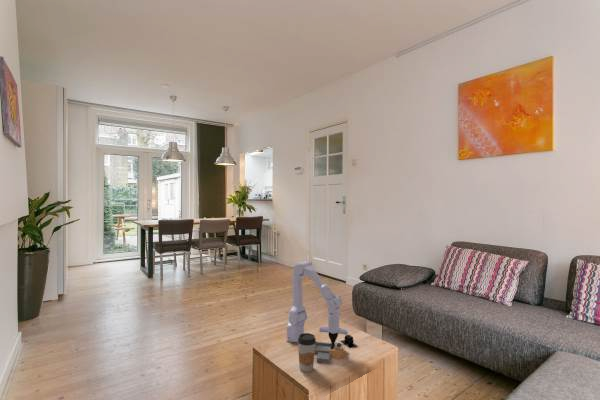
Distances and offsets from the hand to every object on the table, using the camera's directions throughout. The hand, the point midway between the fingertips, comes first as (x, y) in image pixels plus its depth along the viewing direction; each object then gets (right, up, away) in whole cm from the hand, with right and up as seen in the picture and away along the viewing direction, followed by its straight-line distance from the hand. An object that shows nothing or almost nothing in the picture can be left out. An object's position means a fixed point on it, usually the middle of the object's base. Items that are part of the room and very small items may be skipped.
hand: (333, 347), depth 162 cm
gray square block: (-5, -3, -7) cm, 9 cm away
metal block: (+1, -2, -1) cm, 3 cm away
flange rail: (-3, -3, +1) cm, 4 cm away
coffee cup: (-14, -3, -16) cm, 21 cm away
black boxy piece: (+10, -4, +11) cm, 15 cm away
